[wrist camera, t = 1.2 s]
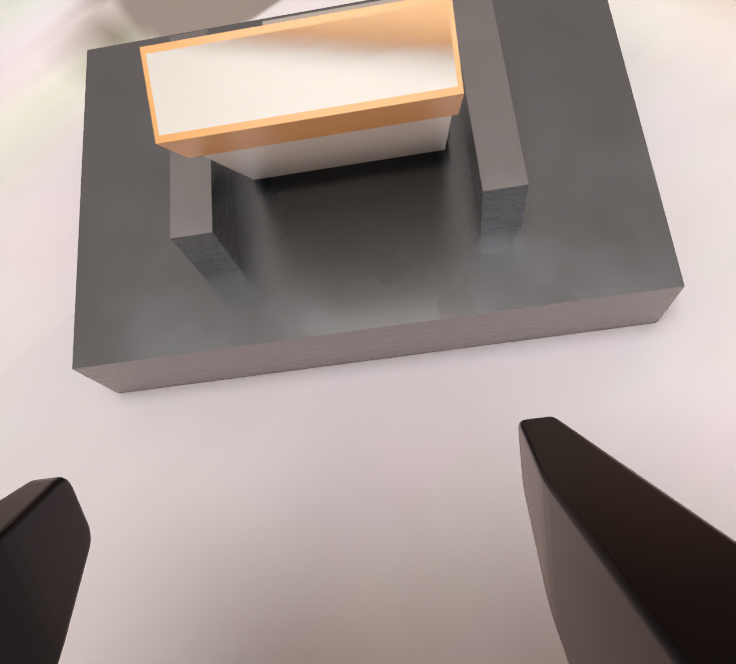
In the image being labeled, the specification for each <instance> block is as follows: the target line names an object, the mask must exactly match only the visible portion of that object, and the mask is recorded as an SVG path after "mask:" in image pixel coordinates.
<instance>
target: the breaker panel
mask: <svg viewBox="0 0 736 664" xmlns="http://www.w3.org/2000/svg"><path fill="white" fill-rule="evenodd" d="M398 1H404V0H367V1H361V2H355V3H350V4H344V5H339V6H333V7H327V8H322V9H316V10H311V11H305V12H299V13H294V14H288V15H282V16H277V17H271V18H266V19H260V20H254V21H249V22H243V23H237V24H232V25H227V26H221V27H215V28H210V29H204V30H199V31H193V32H187V33H181V34H176V35H170V36H165V37H159V38H153V39H148V40H142V41H136V42H131V43H125V44H119V45H114V46H108V47H103V48H97V49H91V50H87V70H86V91H85V112H84V133H83V155H82V176H81V197H80V218H79V239H78V260H77V281H76V303H75V324H74V345H73V366H72V369H73V370H75V371H77V372H79V373H81V374H83V375H85V376H87V377H89V378H90V379H92V380H94V381H96V382H98V383H100V384H102V385H104V386H106V387H108V388H110V389H112V390H113V391H115V392H117V393H122V392H130V391H137V390H145V389H152V388H160V387H168V386H175V385H183V384H191V383H198V382H206V381H213V380H221V379H229V378H236V377H244V376H251V375H259V374H267V373H274V372H282V371H290V370H297V369H305V368H312V367H320V366H328V365H335V364H343V363H351V362H358V361H366V360H373V359H381V358H389V357H396V356H404V355H412V354H419V353H427V352H434V351H442V350H450V349H457V348H465V347H472V346H480V345H488V344H495V343H503V342H511V341H518V340H526V339H533V338H541V337H549V336H556V335H564V334H572V333H579V332H587V331H594V330H602V329H610V328H617V327H625V326H633V325H640V324H648V323H655V322H658V320H659V319H660V318H661V316H662V315H663V314H664V312H665V311H666V310H667V309H668V307H669V306H670V305H671V303H672V302H673V301H674V299H675V298H676V297H677V295H678V294H679V293H680V291H681V290H682V289H683V288H684V283H683V279H682V275H681V271H680V268H679V264H678V260H677V257H676V253H675V249H674V245H673V242H672V238H671V234H670V231H669V227H668V223H667V219H666V216H665V212H664V208H663V205H662V201H661V197H660V193H659V190H658V186H657V182H656V179H655V175H654V171H653V168H652V164H651V160H650V156H649V153H648V149H647V145H646V142H645V138H644V134H643V130H642V127H641V123H640V119H639V116H638V112H637V108H636V104H635V101H634V97H633V93H632V90H631V86H630V82H629V78H628V75H627V71H626V67H625V64H624V60H623V56H622V52H621V49H620V45H619V41H618V38H617V34H616V30H615V27H614V23H613V19H612V15H611V12H610V8H609V4H608V1H607V0H452V2H453V10H454V18H455V26H456V34H457V42H458V50H459V57H460V65H461V73H462V81H463V89H464V96H463V100H462V104H461V107H460V111H459V115H452V117H451V122H450V127H449V128H450V139H447V141H446V146H445V150H440V151H434V152H428V153H421V154H415V155H409V156H402V157H396V158H389V159H383V160H377V161H370V162H364V163H358V164H351V165H345V166H338V167H332V168H326V169H319V170H313V171H307V172H300V173H294V174H287V175H281V176H275V177H268V178H262V179H256V180H253V179H251V178H249V177H247V176H245V175H243V174H241V173H238V172H236V171H234V170H232V169H230V168H228V167H225V166H223V165H221V164H219V163H217V162H215V161H213V160H210V159H208V158H206V157H204V156H198V157H192V158H187V157H185V156H183V155H180V154H178V153H176V152H173V151H171V150H169V149H166V148H164V147H162V146H159V145H157V144H156V142H155V136H154V130H153V124H152V118H151V112H150V106H149V100H148V94H147V88H146V83H145V77H144V71H143V65H142V59H141V53H140V47H144V46H149V45H155V44H161V43H166V42H172V41H178V40H183V39H189V38H195V37H200V36H206V35H212V34H217V33H223V32H228V31H234V30H240V29H245V28H251V27H257V26H262V25H268V24H274V23H279V22H285V21H291V20H296V19H302V18H308V17H313V16H319V15H324V14H330V13H336V12H341V11H347V10H353V9H358V8H364V7H370V6H375V5H381V4H387V3H392V2H398Z"/></svg>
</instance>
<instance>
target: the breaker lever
mask: <svg viewBox="0 0 736 664" xmlns="http://www.w3.org/2000/svg"><path fill="white" fill-rule="evenodd" d="M140 53H141V59H142V65H143V71H144V77H145V83H146V88H147V94H148V100H149V106H150V112H151V118H152V124H153V130H154V136H155V142H156V144H157V145H159V146H162V147H164V148H166V149H169V150H171V151H173V152H176V153H178V154H180V155H183V156H185V157H187V158H192V157H198V156H204V157H206V158H208V159H210V160H213V161H215V162H217V163H219V164H221V165H223V166H225V167H228V168H230V169H232V170H234V171H236V172H238V173H241V174H243V175H245V176H247V177H249V178H251V179H253V180H256V179H262V178H268V177H275V176H281V175H287V174H294V173H300V172H307V171H313V170H319V169H326V168H332V167H338V166H345V165H351V164H358V163H364V162H370V161H377V160H383V159H389V158H396V157H402V156H409V155H415V154H421V153H428V152H434V151H440V150H445V146H446V141H447V139H450V128H449V127H450V122H451V117H452V115H459V111H460V107H461V104H462V100H463V96H464V89H463V81H462V73H461V65H460V57H459V50H458V42H457V34H456V26H455V18H454V10H453V2H452V0H404V1H398V2H392V3H387V4H381V5H375V6H370V7H364V8H358V9H353V10H347V11H341V12H336V13H330V14H324V15H319V16H313V17H308V18H302V19H296V20H291V21H285V22H279V23H274V24H268V25H262V26H257V27H251V28H245V29H240V30H234V31H228V32H223V33H217V34H212V35H206V36H200V37H195V38H189V39H183V40H178V41H172V42H166V43H161V44H155V45H149V46H144V47H140Z"/></svg>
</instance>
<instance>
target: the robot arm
mask: <svg viewBox="0 0 736 664" xmlns="http://www.w3.org/2000/svg"><path fill="white" fill-rule="evenodd" d="M519 443H520V455H521V467H522V478H523V486H524V492H525V497H526V502H527V506H528V511H529V516H530V520H531V525H532V529H533V534H534V539H535V543H536V548H537V552H538V557H539V561H540V566H541V571H542V575H543V580H544V584H545V589H546V593H547V597H548V601H549V605H550V609H551V612H552V615H553V618H554V621H555V624H556V627H557V631H558V633H559V636H560V639H561V642H562V645H563V647H564V650H565V653H566V656H567V659H568V662H569V664H736V542H735V541H734V540H733V539H731V538H730V537H728V536H727V535H725V534H724V533H722V532H721V531H719V530H718V529H717V528H715V527H714V526H712V525H711V524H709V523H708V522H706V521H705V520H703V519H702V518H701V517H699V516H698V515H696V514H695V513H693V512H692V511H690V510H689V509H687V508H686V507H684V506H683V505H682V504H680V503H679V502H677V501H676V500H674V499H673V498H671V497H670V496H668V495H667V494H666V493H664V492H663V491H661V490H660V489H658V488H657V487H655V486H654V485H652V484H651V483H650V482H648V481H647V480H645V479H644V478H642V477H641V476H639V475H638V474H636V473H635V472H633V471H632V470H631V469H629V468H628V467H626V466H625V465H623V464H622V463H620V462H619V461H617V460H616V459H615V458H613V457H612V456H610V455H609V454H607V453H606V452H604V451H603V450H601V449H600V448H599V447H597V446H596V445H594V444H593V443H591V442H590V441H588V440H587V439H585V438H584V437H583V436H581V435H580V434H578V433H577V432H575V431H574V430H572V429H571V428H569V427H568V426H566V425H565V424H564V423H562V422H561V421H559V420H558V419H556V418H554V417H543V418H535V419H527V420H523V421H521V422H520V424H519ZM90 541H91V536H90V529H89V525H88V523H87V520H86V518H85V516H84V513H83V511H82V509H81V506H80V504H79V502H78V499H77V497H76V494H75V492H74V490H73V487H72V486H71V484H70V483H69V481H68V480H66V479H64V478H62V477H56V478H48V479H39V480H34V481H31V482H29V483H27V484H25V485H24V486H22V487H21V488H19V489H17V490H16V491H14V492H13V493H11V494H9V495H8V496H6V497H5V498H3V499H2V500H0V664H58V662H59V659H60V655H61V652H62V649H63V646H64V642H65V639H66V635H67V631H68V627H69V624H70V620H71V616H72V612H73V609H74V605H75V601H76V597H77V594H78V590H79V586H80V582H81V578H82V575H83V571H84V567H85V563H86V560H87V556H88V552H89V548H90Z"/></svg>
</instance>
